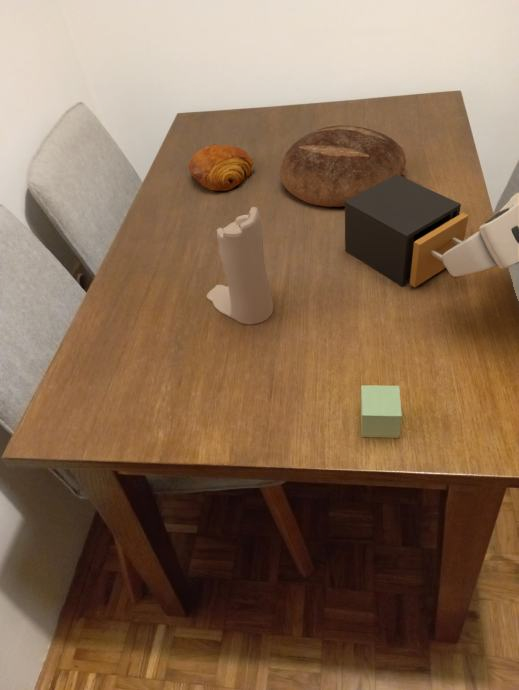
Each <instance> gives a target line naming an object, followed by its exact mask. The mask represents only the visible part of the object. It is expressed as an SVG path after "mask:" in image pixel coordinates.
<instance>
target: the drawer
mask: <svg viewBox="0 0 519 690" xmlns="http://www.w3.org/2000/svg"><path fill="white" fill-rule="evenodd" d="M452 218H453V213H451V214H450V215H448V216H446V217H444V218H443V219H441V220H439V221H438V222H436V223H434V224H433V225H431V226H429V227H428V228H426V229H424V230H423V231H421V232H419V233H417V234H416V235H414V236H412V237H411V238H410V242H409V252H408V262H407V272H406V277H408V276H410V275H411V276H410V282H409V285H410V286H411V287H413V288H416V287H418V286H419V285H421V284H423V283H424V282H426V281H427V280H429V279H430V278H432V277H434V276H435V275H437V274H438V273H440V272H441V271H443V270H444V269H447V268H446V266H445V264H444V262H443V260H442V255H443V254H444V253H445V252H446V251H448V250H449V249H451V248H453V247H454V246H456V245H457V244H459V243H461V242H462V241H464V240H465V236H466V232H467V225H468V220H469V214H467V213H465V212H462V213H459V215H458V216H457V217H455V218H453V219H452Z"/></svg>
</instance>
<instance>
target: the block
mask: <svg viewBox="0 0 519 690" xmlns="http://www.w3.org/2000/svg"><path fill="white" fill-rule="evenodd" d="M402 419H403V412H402V400H401V388H400V385H379V384H377V385H373V384H372V385H371V384H368V385H367V384H362V385H360V433H361V434H360V435H361V436H360V437H361V438H388V439H394V438H395V439H399V438H400V435H401V427H402Z"/></svg>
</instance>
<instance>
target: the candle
mask: <svg viewBox="0 0 519 690" xmlns="http://www.w3.org/2000/svg"><path fill="white" fill-rule="evenodd" d="M216 238H217V242H218V255H219V258H220V260H221V264H222V267H223V273H224V275H225V279H226V283H227V285H223V284H216V285H215V286H214V287H213V288H212V289H211V290H209V292H208V293H207V294H206V298H207V299H208V300H209V301H211V302H212V305H213V307H214V309H216V310H217V311H218V312H219V313H221V314H223V315H224V316H226V317H229V318H231V319H233V320H235V321H236V322H238V323H240V324H242V325H250V326H251V325H257V324H261V323H263V322H265V321H267V320H268V319H269V318H270V317H271V316H272V314H273V312H274V302H273V295H272V294H273V293H272V288H271V284H270V281H269V276H268V272H267V269H266V262H265V254H264V253H265V252H264V235H263V225H262V217H261V214H260V211H259V209H258V207H256V206H252V207H250V210H249V211H248V214H242V215H239V216H236V218H235V221H233V222H231V223H229V224H228V225H227V226H225V227H218V228H217V229H216Z"/></svg>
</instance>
